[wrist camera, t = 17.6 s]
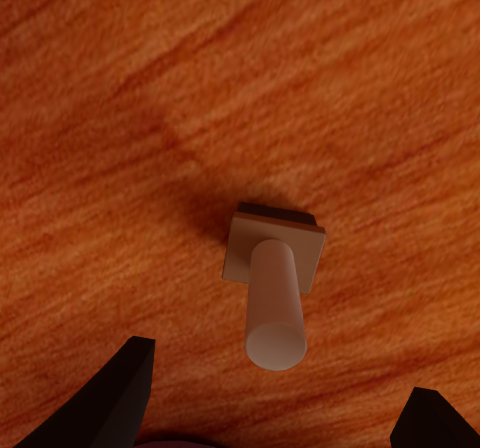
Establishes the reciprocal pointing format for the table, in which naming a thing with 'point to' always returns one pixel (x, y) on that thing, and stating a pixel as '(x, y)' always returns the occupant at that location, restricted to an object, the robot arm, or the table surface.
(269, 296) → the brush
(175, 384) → the table surface
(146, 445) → the bowl
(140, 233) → the table surface
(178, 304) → the table surface
